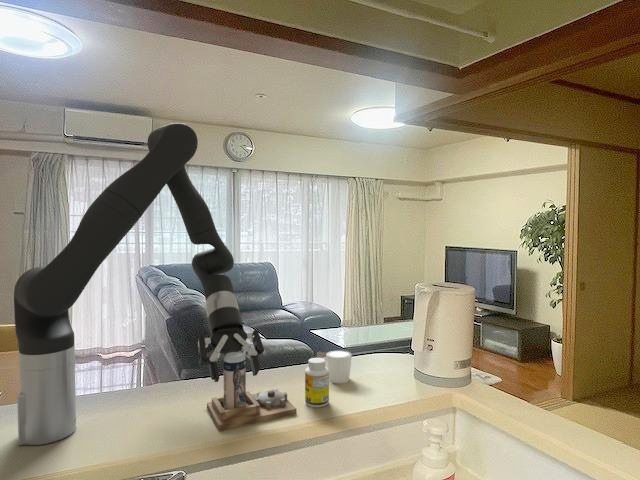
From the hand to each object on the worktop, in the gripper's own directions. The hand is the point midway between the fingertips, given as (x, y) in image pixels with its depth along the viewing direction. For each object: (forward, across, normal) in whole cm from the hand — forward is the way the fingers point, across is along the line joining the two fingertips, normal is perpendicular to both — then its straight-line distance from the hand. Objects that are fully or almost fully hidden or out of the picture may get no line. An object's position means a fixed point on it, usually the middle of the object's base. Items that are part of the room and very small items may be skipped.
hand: (236, 377), depth 90 cm
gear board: (+5, +4, +7) cm, 9 cm away
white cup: (0, +30, +13) cm, 33 cm away
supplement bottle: (+8, +18, +5) cm, 21 cm away
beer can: (+4, 0, +6) cm, 8 cm away
